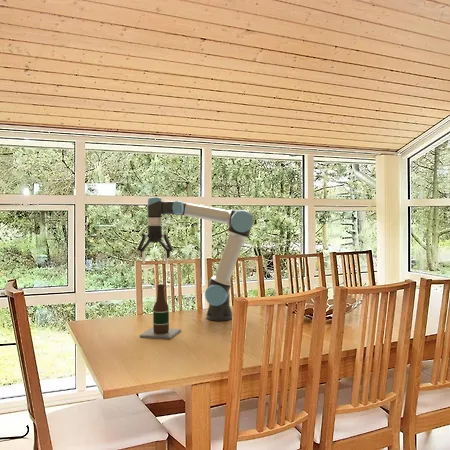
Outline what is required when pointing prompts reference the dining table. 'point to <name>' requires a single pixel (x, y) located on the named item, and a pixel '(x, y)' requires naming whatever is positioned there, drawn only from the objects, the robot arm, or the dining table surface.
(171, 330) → the slate trivet
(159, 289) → the beer bottle
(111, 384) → the dining table surface
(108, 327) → the dining table surface
